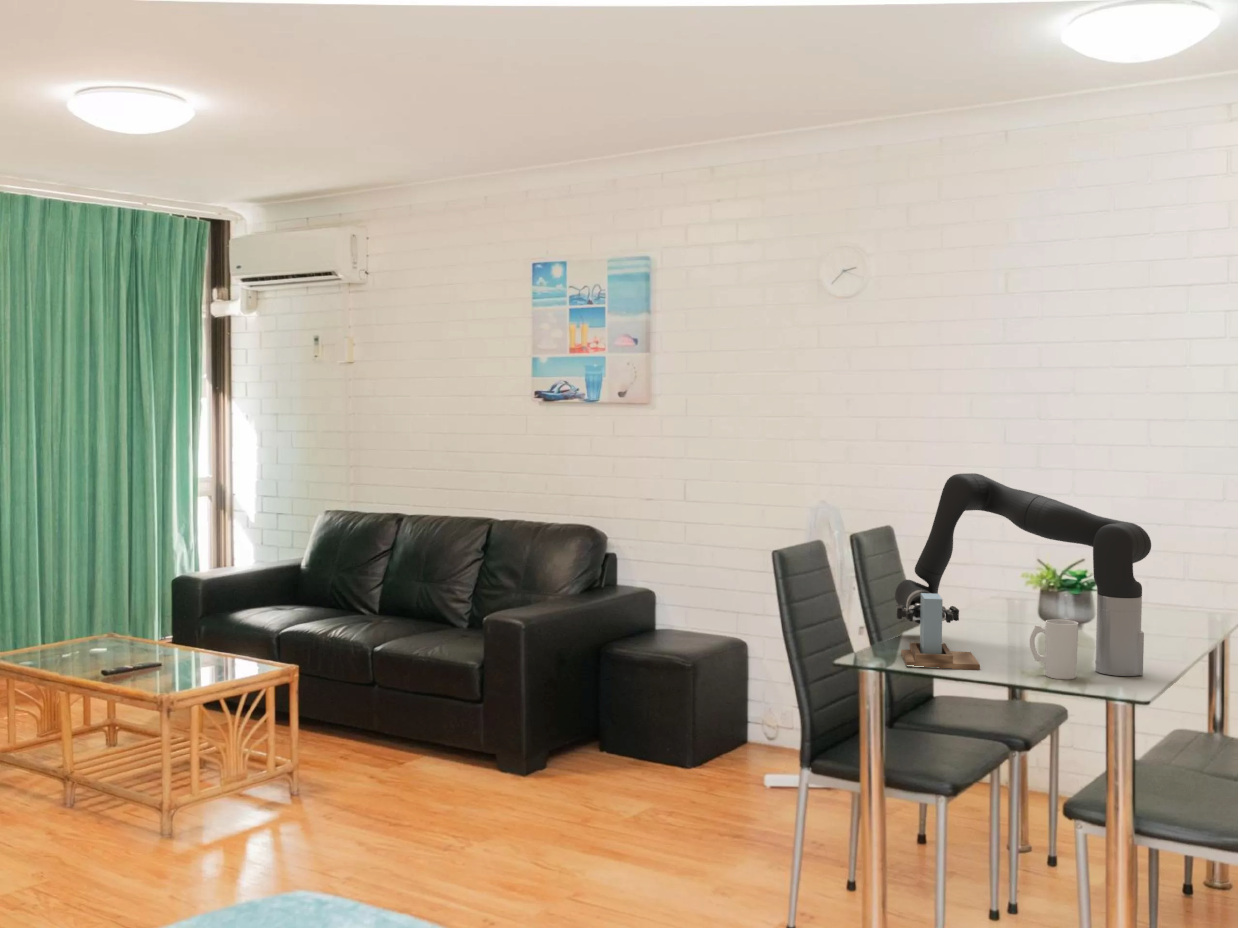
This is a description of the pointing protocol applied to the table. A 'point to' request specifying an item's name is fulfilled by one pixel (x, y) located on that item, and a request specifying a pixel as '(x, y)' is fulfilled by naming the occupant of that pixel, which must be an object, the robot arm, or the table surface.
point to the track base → (940, 658)
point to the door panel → (931, 624)
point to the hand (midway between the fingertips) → (930, 617)
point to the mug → (1058, 648)
